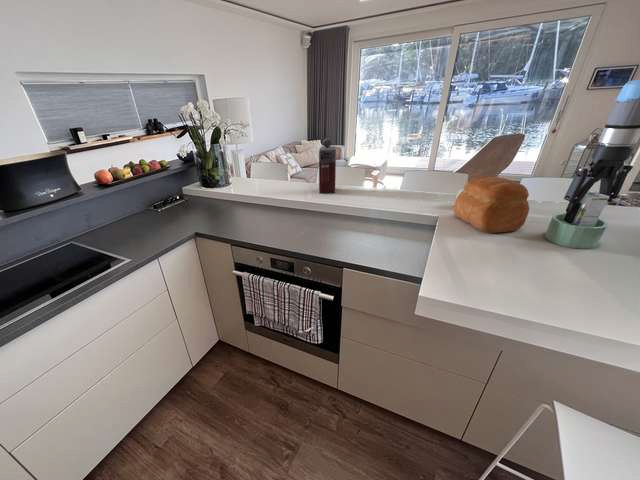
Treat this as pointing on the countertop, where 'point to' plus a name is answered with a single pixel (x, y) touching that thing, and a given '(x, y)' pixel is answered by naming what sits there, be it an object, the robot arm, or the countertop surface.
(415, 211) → the countertop surface
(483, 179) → the bread
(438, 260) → the countertop surface
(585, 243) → the crock
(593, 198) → the syrup box
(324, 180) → the glass liquor decanter
